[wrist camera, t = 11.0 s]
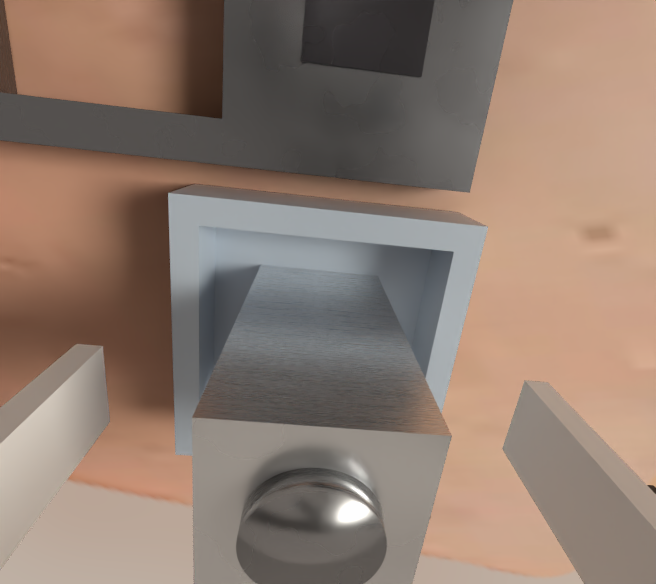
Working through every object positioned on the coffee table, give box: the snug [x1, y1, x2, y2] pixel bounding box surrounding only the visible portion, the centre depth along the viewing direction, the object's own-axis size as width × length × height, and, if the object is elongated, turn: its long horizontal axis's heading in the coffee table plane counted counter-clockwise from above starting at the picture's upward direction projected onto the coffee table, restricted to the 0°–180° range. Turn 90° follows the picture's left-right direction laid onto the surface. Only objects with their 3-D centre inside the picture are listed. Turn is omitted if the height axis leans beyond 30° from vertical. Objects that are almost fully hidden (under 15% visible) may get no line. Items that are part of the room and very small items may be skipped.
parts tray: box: [168, 184, 488, 456], centre depth 17 cm, size 11×11×3 cm
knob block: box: [192, 265, 452, 584], centre depth 13 cm, size 5×5×11 cm
